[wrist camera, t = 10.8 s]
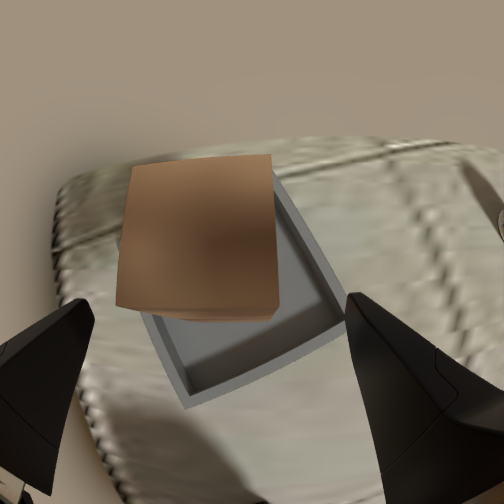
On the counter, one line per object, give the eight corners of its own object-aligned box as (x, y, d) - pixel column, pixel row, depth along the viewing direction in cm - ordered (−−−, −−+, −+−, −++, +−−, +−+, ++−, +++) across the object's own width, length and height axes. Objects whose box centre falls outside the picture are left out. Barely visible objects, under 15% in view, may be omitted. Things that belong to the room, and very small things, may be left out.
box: (194, 400, 20) (185, 409, 17) (131, 252, 24) (116, 242, 21) (348, 324, 21) (361, 322, 18) (269, 185, 25) (270, 167, 22)
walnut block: (268, 321, 21) (279, 306, 8) (197, 322, 21) (115, 306, 9) (266, 252, 22) (270, 154, 10) (198, 254, 23) (132, 166, 10)
